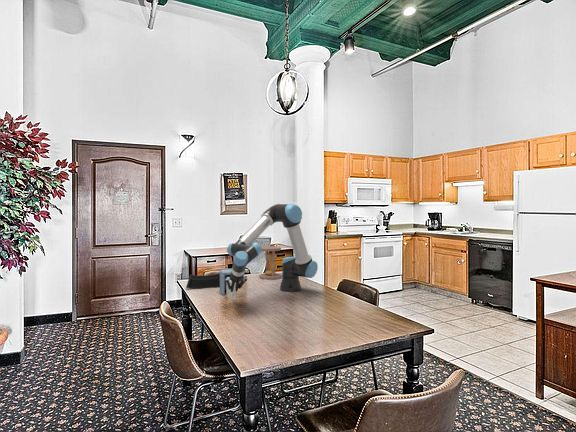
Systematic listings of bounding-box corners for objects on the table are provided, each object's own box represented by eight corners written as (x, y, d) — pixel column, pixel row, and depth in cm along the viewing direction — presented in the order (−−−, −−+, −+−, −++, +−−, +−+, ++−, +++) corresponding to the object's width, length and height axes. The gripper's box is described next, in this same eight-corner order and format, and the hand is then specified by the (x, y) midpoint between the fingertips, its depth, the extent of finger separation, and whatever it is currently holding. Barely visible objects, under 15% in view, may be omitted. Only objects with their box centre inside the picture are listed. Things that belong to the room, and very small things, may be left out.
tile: (235, 299, 231) (235, 280, 230) (229, 300, 229) (229, 281, 229) (232, 294, 243) (232, 276, 243) (226, 295, 242) (226, 277, 241)
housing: (235, 294, 245) (235, 272, 244) (222, 295, 242) (222, 273, 242) (231, 289, 258) (231, 269, 257) (219, 290, 255) (219, 269, 255)
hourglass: (258, 276, 308) (258, 246, 307) (278, 275, 312) (278, 245, 311) (261, 280, 291) (261, 248, 290) (282, 279, 295) (283, 248, 294)
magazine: (182, 277, 255) (223, 262, 265) (182, 276, 258) (223, 262, 268) (190, 300, 258) (230, 284, 268) (189, 298, 261) (229, 283, 271)
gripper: (227, 277, 207) (223, 299, 223) (250, 276, 211) (244, 298, 227) (225, 267, 212) (221, 289, 228) (248, 266, 216) (242, 288, 232)
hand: (232, 293), depth 227 cm, fingers closed
